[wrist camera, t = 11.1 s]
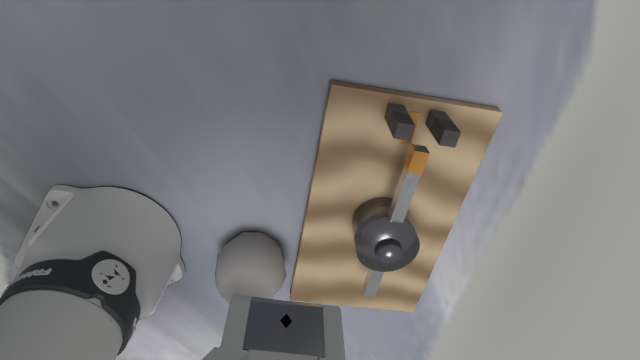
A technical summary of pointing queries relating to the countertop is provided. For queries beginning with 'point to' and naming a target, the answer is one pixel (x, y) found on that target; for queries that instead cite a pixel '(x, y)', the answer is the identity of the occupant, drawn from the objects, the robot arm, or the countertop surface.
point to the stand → (385, 187)
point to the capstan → (389, 225)
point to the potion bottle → (250, 267)
